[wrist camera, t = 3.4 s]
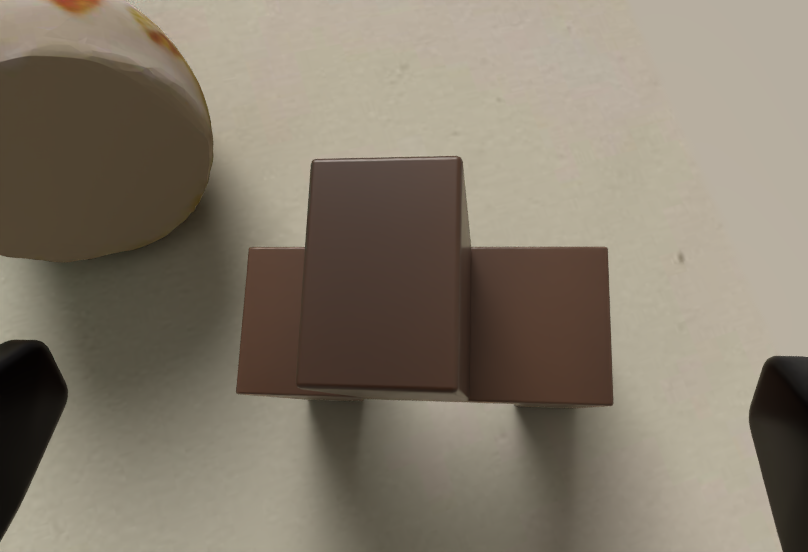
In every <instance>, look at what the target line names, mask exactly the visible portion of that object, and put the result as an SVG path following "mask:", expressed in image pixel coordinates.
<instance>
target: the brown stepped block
mask: <svg viewBox="0 0 808 552" xmlns="http://www.w3.org/2000/svg"><path fill="white" fill-rule="evenodd" d="M236 393H237V394H244V395H257V396H269V397H281V398H294V399H306V400H333V401H363V399H381V400H412V401H443V402H474V403H504V404H514V405H515V406H517V407H546V408H586V407H604V406H612V405H613V378H612V351H611V324H610V296H609V269H608V249H607V247H471V240H470V230H469V220H468V210H467V200H466V190H465V180H464V170H463V162H462V159H461V158H460V157H458V156H437V157H389V158H342V159H315V160H313V161H312V163H311V170H310V185H309V199H308V213H307V227H306V242H305V247H251V248H249V254H248V265H247V276H246V287H245V299H244V310H243V321H242V332H241V343H240V354H239V365H238V376H237V387H236Z"/></svg>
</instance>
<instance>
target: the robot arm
mask: <svg viewBox="0 0 808 552" xmlns="http://www.w3.org/2000/svg"><path fill="white" fill-rule="evenodd" d="M67 398H68V389H67V385H66V382H65V380H64V378H63V376H62V374H61V372H60V370H59V368H58V366H57V364H56V362H55V360H54V358H53V356H52V354H51V352H50V350H49V348H48V346H47V345H45V344H44V343H43V342H41V341H38V340H10V341H7V342H4V343H2V344H0V541H1V540H2V538H3V536H4V534H5V533H6V531H7V529H8V527H9V526H10V524H11V522H12V520H13V518H14V516H15V514H16V513H17V511H18V509H19V507H20V505H21V503H22V501H23V499H24V497H25V494H26V492H27V490H28V488H29V486H30V484H31V481H32V479H33V477H34V475H35V472H36V470H37V468H38V466H39V463H40V461H41V459H42V457H43V455H44V452H45V450H46V448H47V446H48V443H49V441H50V439H51V437H52V434H53V432H54V430H55V428H56V425H57V423H58V421H59V419H60V417H61V414H62V412H63V410H64V408H65V405H66V402H67ZM749 425H750V430H751V434H752V438H753V442H754V446H755V449H756V453H757V457H758V461H759V465H760V468H761V472H762V476H763V480H764V484H765V487H766V491H767V495H768V499H769V503H770V506H771V510H772V514H773V518H774V522H775V526H776V529H777V533H778V536H779V540H780V543H781V547H782V550H783V552H808V357H799V356H798V357H797V356H773V357H771V358H769V359H767V361H766V362H765V363H764V366H763V368H762V371H761V374H760V377H759V380H758V384H757V387H756V390H755V393H754V396H753V399H752V402H751V406H750V410H749Z"/></svg>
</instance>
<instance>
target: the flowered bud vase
mask: <svg viewBox="0 0 808 552" xmlns="http://www.w3.org/2000/svg"><path fill="white" fill-rule="evenodd" d="M212 162H213V136H212V129H211V121H210V116H209V112H208V108H207V104H206V101H205V98H204V95H203V92H202V90H201V88H200V85H199V83H198V81H197V79H196V77H195V75H194V74H193V72H192V70H191V68H190V66H189V65H188V64H187V62H186V61H185V59H184V58H183V56H182V55H181V54H180V52H179V51H178V49H177V48H176V47H175V45H174V44H173V43H172V42H171V41H170V40H169V38H168V37H167V36H166V35H165V34H164V33H163V32H162V30H161V29H160V28H159V27H158V26H157V25H155V24H154V23H153V22H152V21H151V20H150V19H148V18H147V17H146V16H145V15H144V14H143V13H141V12H140V11H139V10H138V9H136V8H135V7H134V6H133V5H131V4H130V3H129V2H127V1H126V0H0V255H2V256H6V257H14V258H27V259H35V260H45V261H51V262H72V261H78V260H84V259H88V260H89V259H93V258H97V257H100V256H104V255H109V254H113V253H118V252H123V251H129V250H135V249H138V248H141V247H143V246H146V245H149V244H151V243H153V242H155V241H157V240H159V239H161V238H163V237H165V236H167V235H168V234H169V233H170V232H171V231H172V230H173V229H175V228H176V227H177V226H178V225H180V224H181V223H182V222H184V221H185V220H186V219H187V218H188V216H189V214H190V213H192V212H194V211H195V207H196V206H197V205H198V204H199V202H200V199H201V197H202V195H203V193H204V191H205V188H206V186H207V183H208V180H209V174H210V170H211V166H212Z"/></svg>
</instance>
